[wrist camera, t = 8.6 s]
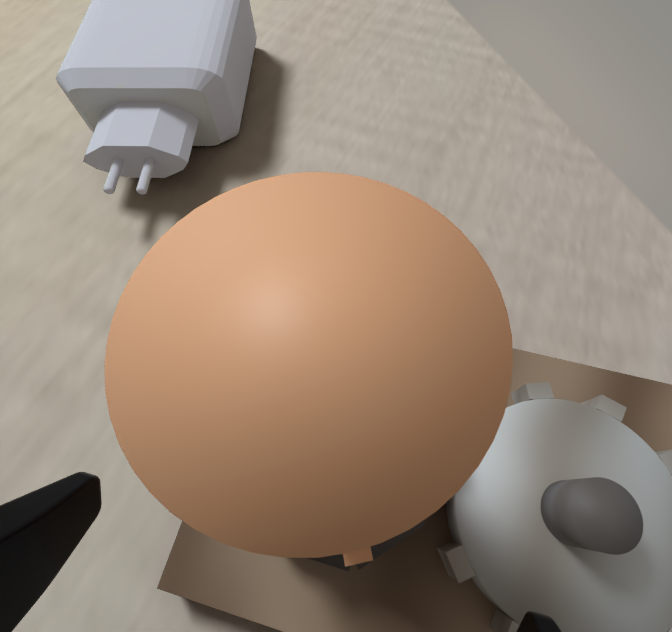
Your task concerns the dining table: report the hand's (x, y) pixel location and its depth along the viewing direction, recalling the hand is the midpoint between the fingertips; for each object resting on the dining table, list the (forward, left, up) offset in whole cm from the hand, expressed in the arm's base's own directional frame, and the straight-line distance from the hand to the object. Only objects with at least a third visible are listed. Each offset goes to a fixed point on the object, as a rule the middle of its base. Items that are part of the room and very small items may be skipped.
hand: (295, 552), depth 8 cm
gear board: (-1, -5, -9) cm, 10 cm away
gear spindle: (+2, -2, -7) cm, 8 cm away
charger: (+25, -3, -9) cm, 26 cm away
